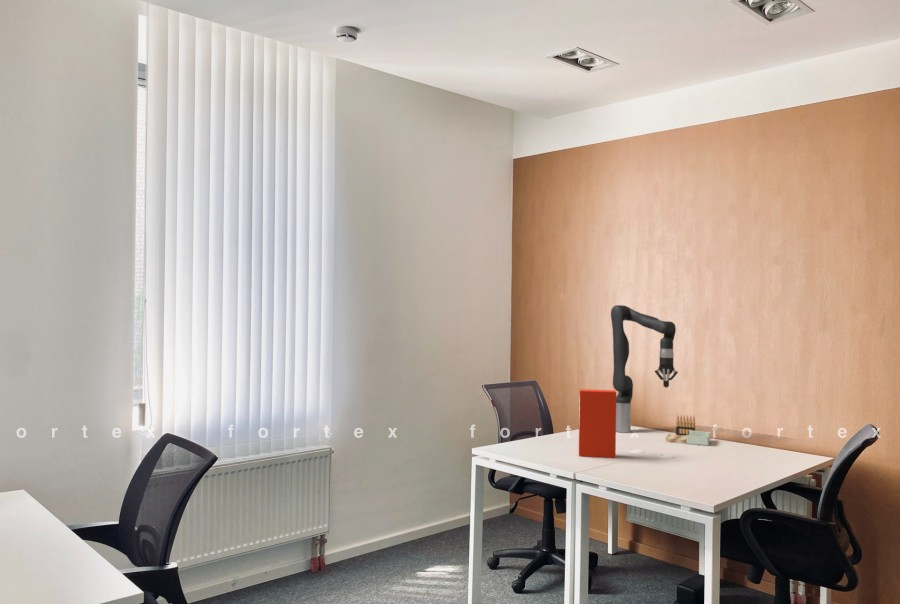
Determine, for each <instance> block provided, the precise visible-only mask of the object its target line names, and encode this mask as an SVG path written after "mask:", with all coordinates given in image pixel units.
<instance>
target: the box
mask: <svg viewBox="0 0 900 604" xmlns="http://www.w3.org/2000/svg"><path fill="white" fill-rule="evenodd" d="M697 435H701V436H697ZM709 442H711V432H710V431H703V430H701V431H700V430H695V431H692V430H689V435H687V444H686V445H692V446H702V445H703V447H704V446H705V447H708V446H709V444H710V443H709Z"/></svg>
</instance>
